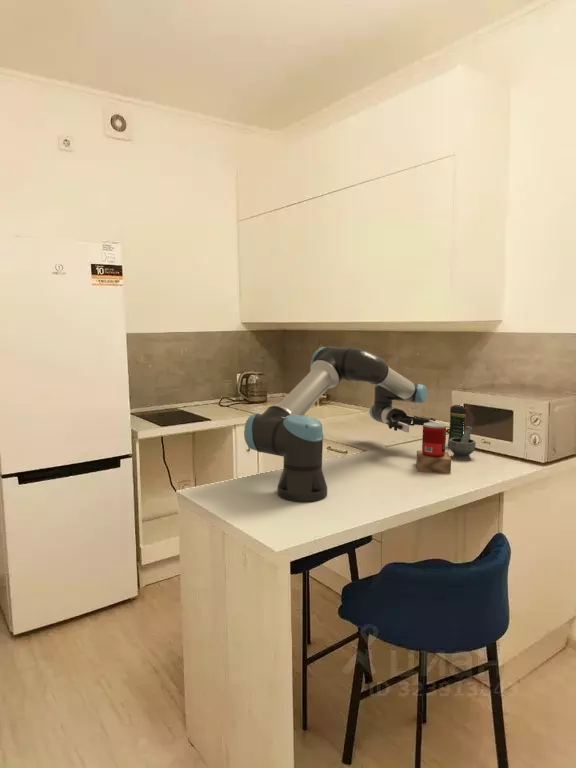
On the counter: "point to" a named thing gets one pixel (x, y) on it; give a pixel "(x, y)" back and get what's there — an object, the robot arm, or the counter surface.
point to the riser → (433, 463)
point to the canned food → (434, 439)
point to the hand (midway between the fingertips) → (424, 427)
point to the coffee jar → (456, 421)
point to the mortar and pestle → (462, 445)
